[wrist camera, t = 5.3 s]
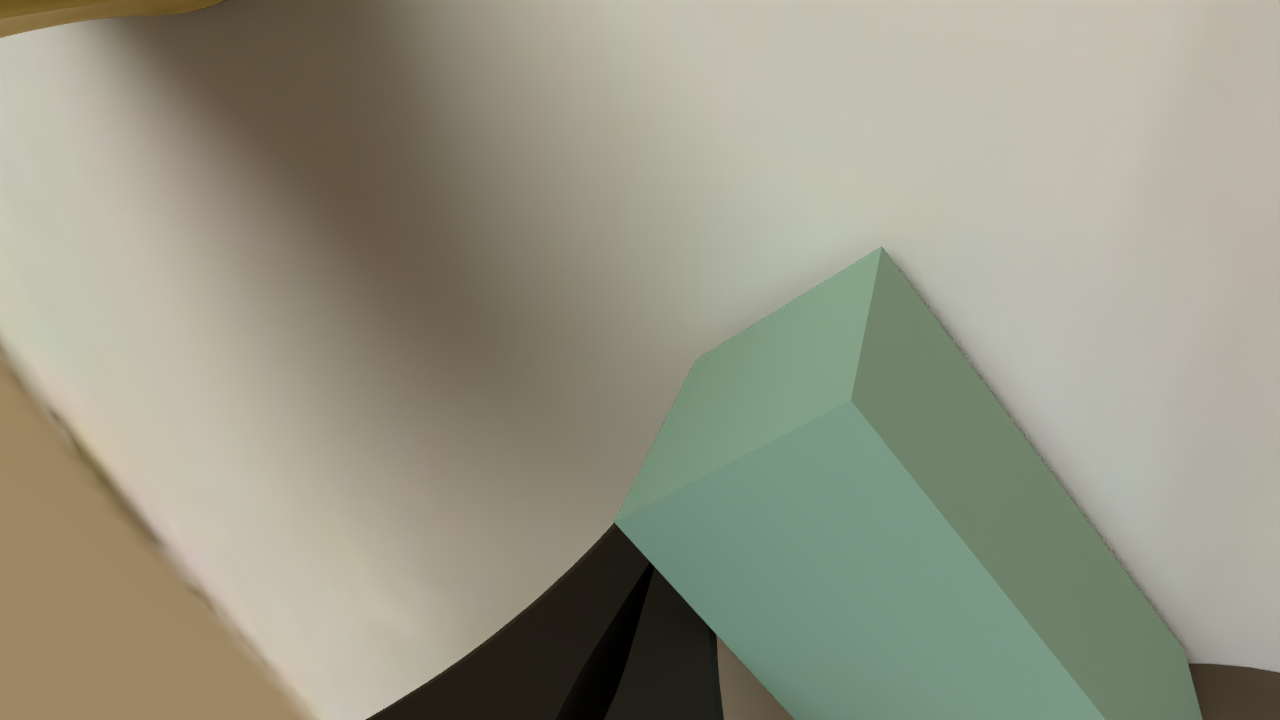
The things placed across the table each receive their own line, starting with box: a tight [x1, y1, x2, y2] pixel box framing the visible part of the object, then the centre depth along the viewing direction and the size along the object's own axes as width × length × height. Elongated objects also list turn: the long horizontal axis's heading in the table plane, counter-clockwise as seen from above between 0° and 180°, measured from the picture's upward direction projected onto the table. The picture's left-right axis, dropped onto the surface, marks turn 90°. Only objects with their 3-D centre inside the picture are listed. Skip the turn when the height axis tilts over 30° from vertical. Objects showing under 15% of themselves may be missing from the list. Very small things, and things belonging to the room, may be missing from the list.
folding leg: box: [614, 247, 1203, 720], centre depth 11 cm, size 7×3×4 cm, turn 42°
